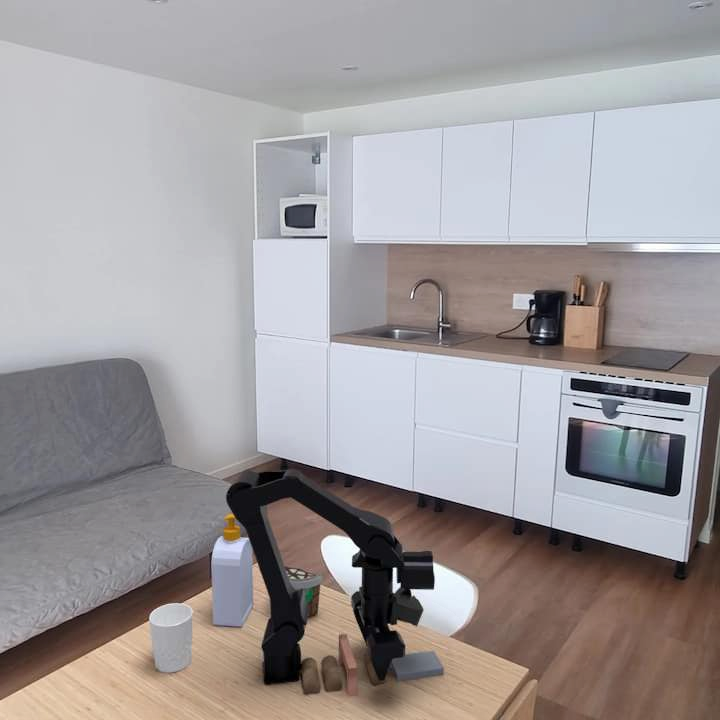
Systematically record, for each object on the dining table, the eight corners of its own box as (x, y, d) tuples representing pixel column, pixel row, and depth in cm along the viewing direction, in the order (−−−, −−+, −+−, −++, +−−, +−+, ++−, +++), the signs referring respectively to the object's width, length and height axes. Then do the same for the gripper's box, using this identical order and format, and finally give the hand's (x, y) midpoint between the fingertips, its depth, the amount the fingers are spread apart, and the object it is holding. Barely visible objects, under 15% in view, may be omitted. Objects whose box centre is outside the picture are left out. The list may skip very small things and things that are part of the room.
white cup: (143, 662, 125) (141, 614, 123) (180, 644, 130) (178, 598, 129) (165, 681, 119) (163, 631, 118) (202, 661, 125) (200, 613, 123)
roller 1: (302, 693, 116) (306, 678, 116) (299, 670, 122) (303, 656, 122) (318, 696, 117) (322, 681, 116) (314, 673, 123) (318, 658, 123)
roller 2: (337, 674, 117) (345, 686, 117) (332, 652, 123) (339, 664, 124) (322, 683, 116) (330, 695, 117) (318, 660, 123) (325, 672, 123)
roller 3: (372, 687, 119) (370, 673, 118) (364, 665, 125) (363, 651, 124) (388, 684, 119) (386, 669, 119) (380, 662, 125) (378, 648, 125)
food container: (260, 614, 141) (259, 571, 140) (276, 601, 147) (276, 559, 145) (308, 630, 136) (308, 585, 134) (323, 615, 141) (323, 572, 140)
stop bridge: (348, 696, 116) (348, 668, 115) (338, 660, 126) (338, 634, 125) (356, 695, 116) (357, 667, 115) (346, 659, 126) (346, 633, 125)
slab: (397, 684, 120) (397, 674, 119) (389, 666, 125) (389, 656, 125) (443, 677, 122) (443, 668, 121) (433, 659, 127) (434, 650, 127)
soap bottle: (244, 628, 136) (242, 525, 132) (212, 626, 137) (209, 523, 133) (256, 605, 145) (255, 508, 141) (226, 603, 146) (224, 506, 142)
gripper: (435, 610, 112) (432, 691, 114) (405, 559, 130) (404, 631, 132) (371, 616, 109) (370, 699, 112) (351, 564, 127) (350, 637, 130)
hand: (375, 664), depth 122 cm, fingers open, 9 cm apart
